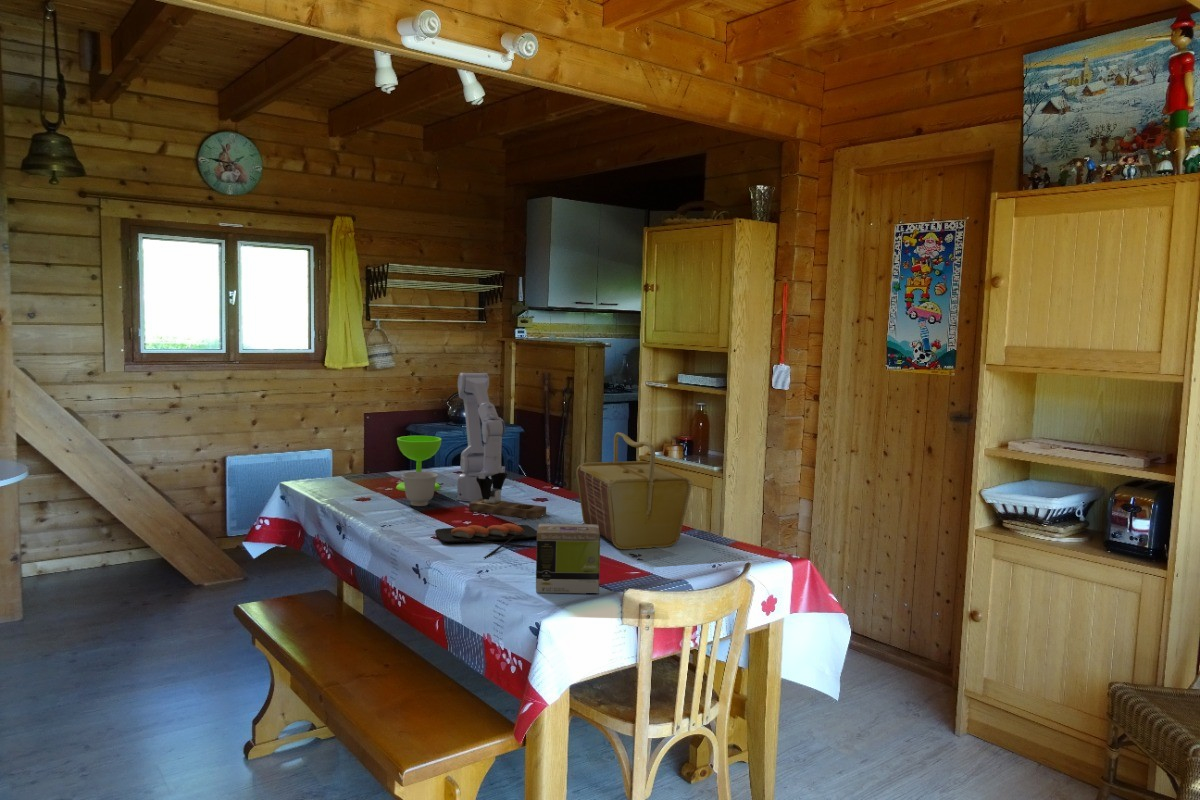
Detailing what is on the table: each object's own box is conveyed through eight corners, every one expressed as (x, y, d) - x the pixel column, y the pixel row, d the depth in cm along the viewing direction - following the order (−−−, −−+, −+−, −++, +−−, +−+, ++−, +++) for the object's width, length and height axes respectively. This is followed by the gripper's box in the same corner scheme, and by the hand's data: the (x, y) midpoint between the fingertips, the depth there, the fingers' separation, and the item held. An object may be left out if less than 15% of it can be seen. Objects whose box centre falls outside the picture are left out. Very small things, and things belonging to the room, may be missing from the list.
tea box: (597, 582, 213) (600, 523, 211) (598, 595, 203) (601, 533, 201) (536, 580, 212) (538, 521, 211) (534, 593, 202) (536, 531, 201)
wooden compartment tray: (469, 510, 283) (469, 502, 283) (480, 505, 291) (481, 497, 290) (535, 519, 275) (535, 510, 275) (546, 514, 282) (546, 505, 282)
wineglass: (392, 484, 321) (392, 436, 319) (434, 482, 327) (435, 435, 326) (401, 493, 306) (402, 442, 304) (445, 490, 313) (446, 441, 311)
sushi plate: (528, 530, 263) (528, 517, 263) (559, 556, 236) (559, 542, 235) (432, 535, 253) (432, 522, 253) (453, 563, 225) (453, 549, 225)
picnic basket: (572, 528, 265) (575, 431, 262) (649, 524, 275) (653, 430, 272) (606, 553, 238) (610, 446, 235) (690, 548, 247) (696, 444, 244)
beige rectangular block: (483, 510, 284) (484, 489, 283) (489, 508, 287) (490, 487, 287) (494, 512, 282) (495, 491, 282) (500, 509, 286) (501, 489, 285)
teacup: (444, 499, 298) (445, 471, 297) (431, 509, 283) (432, 479, 282) (410, 497, 299) (410, 469, 298) (395, 507, 284) (396, 477, 283)
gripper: (492, 460, 275) (491, 502, 276) (513, 454, 289) (512, 494, 290) (473, 458, 277) (472, 500, 279) (494, 452, 291) (493, 492, 292)
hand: (491, 497), depth 284 cm, fingers open, 7 cm apart
